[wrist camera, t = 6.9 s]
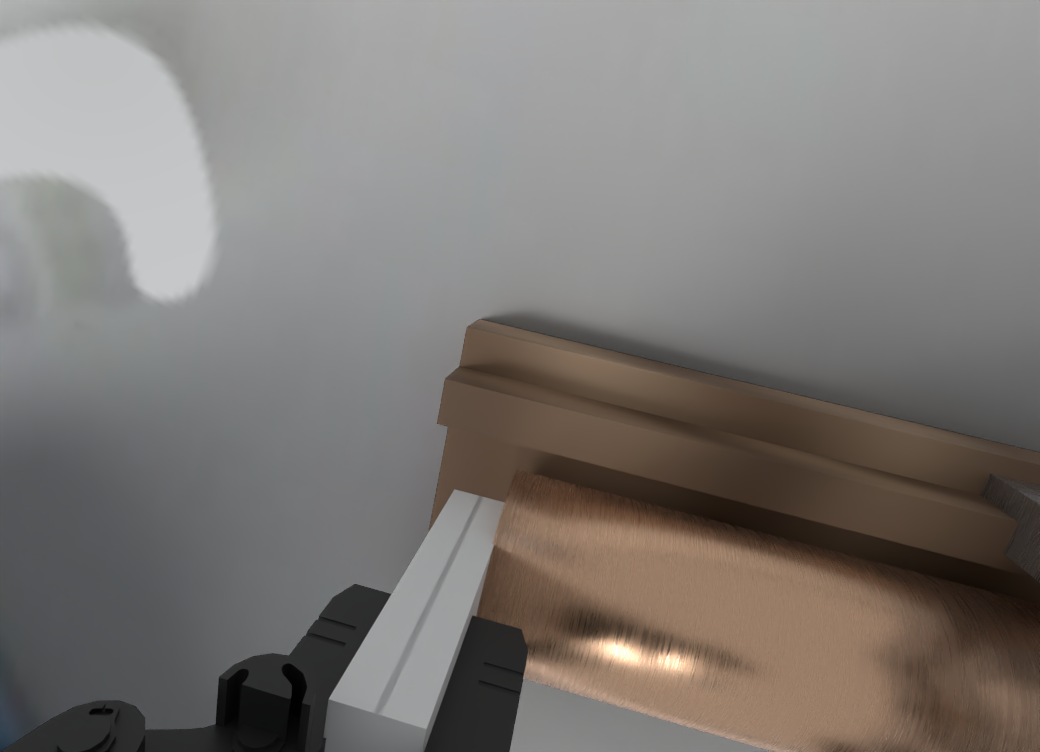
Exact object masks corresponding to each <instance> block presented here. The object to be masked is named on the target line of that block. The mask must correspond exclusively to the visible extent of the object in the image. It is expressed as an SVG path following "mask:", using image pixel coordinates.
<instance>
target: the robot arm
mask: <svg viewBox="0 0 1040 752" xmlns="http://www.w3.org/2000/svg"><path fill="white" fill-rule="evenodd" d="M504 503H505V502H501V501H497V500H493V499H490V498H486V497H482V496H478V495H474V494H471V493H467V492H463V491H459V490H455V489H454V491H453V493H452V494H451V496H450V498H449V499H448V501H447V503H446V504H445V506H444V508H443V509H442V511H441V513H440V514H439V516H438V518H437V519H436V521H435V523H434V524H433V526H432V528H431V529H430V531H429V533H428V534H427V536H426V538H425V539H424V541H423V543H422V544H421V546H420V548H419V549H418V551H417V553H416V554H415V556H414V558H413V559H412V561H411V563H410V564H409V566H408V568H407V569H406V571H405V573H404V574H403V576H402V578H401V579H400V581H399V583H398V584H397V586H396V588H395V589H394V591H393V593H392V594H389V593H385V592H382V591H378V590H375V589H371V588H368V587H364V586H361V585H357V584H354V585H353V586H351V587H349V588H348V589H346V590H344V591H343V592H341V593H339V594H338V595H336V596H335V597H333V598H332V600H331V601H330V602H329V604H328V605H327V606H326V608H325V609H324V610H323V612H322V613H321V614H320V616H319V618H318V620H316V621H315V622H314V623H313V625H312V626H311V627H310V629H309V630H308V631H307V634H306V636H304V637H303V638H302V639H301V641H300V642H299V643H298V645H297V646H296V647H295V649H294V650H293V651H292V653H291V654H290V655H289V656H288V655H281V654H266V655H259V656H253V657H251V658H249V659H246V660H244V661H242V662H239V663H237V664H235V665H233V666H232V667H231V668H230V669H229V670H227V671H226V672H225V673H224V674H222V675H221V676H220V677H219V685H218V699H217V713H216V724H215V725H212V726H208V727H205V728H196V729H174V730H145V717H144V716H143V715H142V714H141V712H140V711H139V710H138V709H137V707H136V706H133V705H130V704H128V703H125V702H122V701H95V702H91V703H88V704H84V705H80V706H76V707H74V708H72V709H70V710H68V711H66V712H64V713H62V714H60V715H58V716H56V717H54V718H52V719H50V720H49V721H47V722H46V723H44V724H43V725H41V726H39V727H38V728H36V729H35V730H33V731H32V732H30V733H29V734H27V735H26V736H24V737H22V738H21V739H19V740H18V741H16V742H15V743H13V744H12V745H10V746H8V747H7V748H5V749H4V750H2V751H1V752H509V751H510V745H511V740H512V735H513V729H514V724H515V719H516V714H517V708H518V703H519V698H520V693H521V687H522V682H523V676H524V672H525V666H526V661H527V656H528V648H527V645H526V642H525V639H524V635H523V632H522V629H519V628H516V627H512V626H508V625H505V624H501V623H498V622H494V621H491V620H487V619H484V618H480V617H477V616H476V615H477V610H478V606H479V602H480V597H481V593H482V589H483V585H484V581H485V577H486V573H487V569H488V565H489V561H490V557H491V554H492V550H493V546H494V544H493V540H494V537H495V533H496V530H497V526H498V523H499V519H500V516H501V513H502V509H503V506H504Z"/></svg>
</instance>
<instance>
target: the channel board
mask: <svg viewBox="0 0 1040 752" xmlns="http://www.w3.org/2000/svg"><path fill="white" fill-rule="evenodd" d="M437 424H440V425H444V426H448V431H447V436H446V441H445V447H444V452H443V457H442V463H441V468H440V473H439V479H438V484H437V489H436V495H435V500H434V506H433V511H432V516H431V522H430V527H429V531H430V529H431V528H432V526H433V524H434V523H435V521H436V519H437V518H438V516H439V514H440V513H441V511H442V509H443V508H444V506H445V504H446V503H447V501H448V499H449V498H450V496H451V494H452V493H453V491H454V489H455V490H459V491H463V492H467V493H471V494H474V495H478V496H482V497H486V498H490V499H493V500H497V501H501V502H505V500H506V497H507V493H508V490H509V488H510V485H511V482H512V479H513V477H514V474H515V472H516V471H517V470H521V471H525V472H529V473H532V474H536V475H540V476H544V477H548V478H552V479H556V480H560V481H564V482H567V483H571V484H575V485H579V486H583V487H587V488H591V489H595V490H598V491H602V492H606V493H610V494H614V495H618V496H622V497H626V498H630V499H633V500H637V501H641V502H645V503H649V504H653V505H657V506H661V507H664V508H668V509H672V510H676V511H680V512H684V513H688V514H692V515H696V516H699V517H703V518H707V519H711V520H715V521H719V522H723V523H727V524H730V525H734V526H738V527H742V528H746V529H750V530H754V531H758V532H762V533H765V534H769V535H773V536H777V537H781V538H785V539H789V540H793V541H796V542H800V543H804V544H808V545H812V546H816V547H820V548H824V549H828V550H831V551H835V552H839V553H843V554H847V555H851V556H855V557H859V558H862V559H866V560H870V561H874V562H878V563H882V564H886V565H890V566H893V567H897V568H901V569H905V570H909V571H913V572H917V573H921V574H925V575H928V576H932V577H936V578H940V579H944V580H948V581H952V582H956V583H959V584H963V585H967V586H971V587H975V588H979V589H983V590H987V591H991V592H994V593H998V594H1002V595H1006V596H1010V597H1014V598H1018V599H1022V600H1025V601H1029V602H1033V603H1037V604H1040V582H1038V581H1037V580H1036V579H1035V578H1034V577H1032V576H1031V575H1030V574H1029V573H1027V572H1026V571H1025V570H1024V569H1022V568H1021V567H1020V566H1019V565H1017V564H1016V563H1015V562H1014V561H1013V560H1011V559H1010V558H1009V557H1008V556H1006V555H1005V554H1004V551H1005V549H1006V547H1007V545H1008V543H1009V541H1010V539H1011V537H1012V535H1013V533H1014V531H1015V530H1016V528H1017V526H1018V524H1019V522H1017V521H1016V520H1015V519H1013V518H1012V517H1010V516H1009V515H1007V514H1006V513H1005V512H1003V511H1002V510H1000V509H999V508H998V507H996V506H995V505H993V504H992V503H990V502H989V501H988V500H986V499H985V498H983V497H982V496H981V495H980V494H981V492H982V490H983V488H984V486H985V483H986V481H987V479H988V477H989V475H990V473H991V474H995V475H999V476H1003V477H1007V478H1011V479H1015V480H1019V481H1023V482H1028V483H1032V484H1036V485H1040V453H1039V452H1035V451H1031V450H1027V449H1023V448H1018V447H1014V446H1010V445H1006V444H1002V443H997V442H993V441H989V440H985V439H981V438H976V437H972V436H968V435H964V434H960V433H955V432H951V431H947V430H943V429H939V428H934V427H930V426H926V425H922V424H918V423H913V422H909V421H905V420H901V419H897V418H892V417H888V416H884V415H880V414H876V413H871V412H867V411H863V410H859V409H855V408H850V407H846V406H842V405H838V404H834V403H829V402H825V401H821V400H817V399H813V398H808V397H804V396H800V395H796V394H792V393H787V392H783V391H779V390H775V389H771V388H766V387H762V386H758V385H754V384H750V383H746V382H741V381H737V380H733V379H729V378H725V377H720V376H716V375H712V374H708V373H704V372H699V371H695V370H691V369H687V368H683V367H678V366H674V365H670V364H666V363H662V362H657V361H653V360H649V359H645V358H641V357H636V356H632V355H628V354H624V353H620V352H615V351H611V350H607V349H603V348H599V347H594V346H590V345H586V344H582V343H578V342H573V341H569V340H565V339H561V338H557V337H552V336H548V335H544V334H540V333H536V332H531V331H527V330H523V329H519V328H515V327H510V326H506V325H502V324H498V323H494V322H489V321H485V320H481V319H479V320H477V321H476V322H474V323H473V324H471V325H470V326H468V327H467V329H466V335H465V340H464V345H463V351H462V356H461V361H460V366H459V367H458V368H457V369H456V370H455V371H454V372H453V373H451V374H450V375H449V376H448V377H447V378H446V379H445V382H444V388H443V393H442V399H441V404H440V410H439V415H438V421H437ZM428 533H429V532H428Z"/></svg>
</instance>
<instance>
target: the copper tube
mask: <svg viewBox="0 0 1040 752" xmlns="http://www.w3.org/2000/svg"><path fill="white" fill-rule="evenodd" d="M493 544H494V546H493V550H492V554H491V557H490V561H489V565H488V569H487V573H486V577H485V581H484V585H483V589H482V593H481V597H480V602H479V606H478V610H477V615H476V616H477V617H480V618H484V619H487V620H491V621H494V622H498V623H501V624H505V625H508V626H512V627H516V628H519V629H522V632H523V635H524V639H525V642H526V645H527V648H528V656H527V661H526V666H525V672H524V676H523V679H527V680H530V681H533V682H537V683H540V684H544V685H547V686H550V687H554V688H557V689H561V690H564V691H567V692H571V693H574V694H578V695H581V696H585V697H588V698H591V699H595V700H598V701H602V702H605V703H608V704H612V705H615V706H619V707H622V708H625V709H629V710H632V711H636V712H639V713H642V714H646V715H649V716H653V717H656V718H659V719H663V720H666V721H670V722H673V723H676V724H680V725H683V726H687V727H690V728H693V729H697V730H700V731H704V732H707V733H711V734H714V735H717V736H721V737H724V738H728V739H731V740H734V741H738V742H741V743H745V744H748V745H751V746H755V747H758V748H762V749H765V750H768V751H772V752H1040V604H1037V603H1033V602H1029V601H1025V600H1022V599H1018V598H1014V597H1010V596H1006V595H1002V594H998V593H994V592H991V591H987V590H983V589H979V588H975V587H971V586H967V585H963V584H959V583H956V582H952V581H948V580H944V579H940V578H936V577H932V576H928V575H925V574H921V573H917V572H913V571H909V570H905V569H901V568H897V567H893V566H890V565H886V564H882V563H878V562H874V561H870V560H866V559H862V558H859V557H855V556H851V555H847V554H843V553H839V552H835V551H831V550H828V549H824V548H820V547H816V546H812V545H808V544H804V543H800V542H796V541H793V540H789V539H785V538H781V537H777V536H773V535H769V534H765V533H762V532H758V531H754V530H750V529H746V528H742V527H738V526H734V525H730V524H727V523H723V522H719V521H715V520H711V519H707V518H703V517H699V516H696V515H692V514H688V513H684V512H680V511H676V510H672V509H668V508H664V507H661V506H657V505H653V504H649V503H645V502H641V501H637V500H633V499H630V498H626V497H622V496H618V495H614V494H610V493H606V492H602V491H598V490H595V489H591V488H587V487H583V486H579V485H575V484H571V483H567V482H564V481H560V480H556V479H552V478H548V477H544V476H540V475H536V474H532V473H529V472H525V471H521V470H517V471H516V472H515V474H514V477H513V479H512V482H511V485H510V488H509V490H508V493H507V497H506V500H505V503H504V506H503V509H502V513H501V516H500V519H499V523H498V526H497V530H496V533H495V537H494V540H493Z"/></svg>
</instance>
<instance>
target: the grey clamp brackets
mask: <svg viewBox="0 0 1040 752" xmlns="http://www.w3.org/2000/svg"><path fill="white" fill-rule="evenodd" d="M980 495H981V496H982V497H983V498H985V499H986V500H988V501H989V502H990V503H992V504H993V505H995V506H996V507H998V508H999V509H1000V510H1002V511H1003V512H1005V513H1006V514H1007V515H1009V516H1010V517H1012V518H1013V519H1015V520H1016V521H1017V522H1019V524H1018V526H1017V528H1016V530H1015V531H1014V533H1013V535H1012V537H1011V539H1010V541H1009V543H1008V545H1007V547H1006V549H1005V551H1004V554H1005V555H1006V556H1008V557H1009V558H1010V559H1011V560H1013V561H1014V562H1015V563H1016V564H1017V565H1019V566H1020V567H1021V568H1022V569H1024V570H1025V571H1026V572H1027V573H1029V574H1030V575H1031V576H1032V577H1034V578H1035V579H1036V580H1037V581H1038V582H1040V485H1036V484H1032V483H1028V482H1023V481H1019V480H1015V479H1011V478H1007V477H1003V476H999V475H995V474H991V473H990V475H989V477H988V479H987V481H986V483H985V486H984V488H983V490H982V492H981V494H980Z"/></svg>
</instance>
